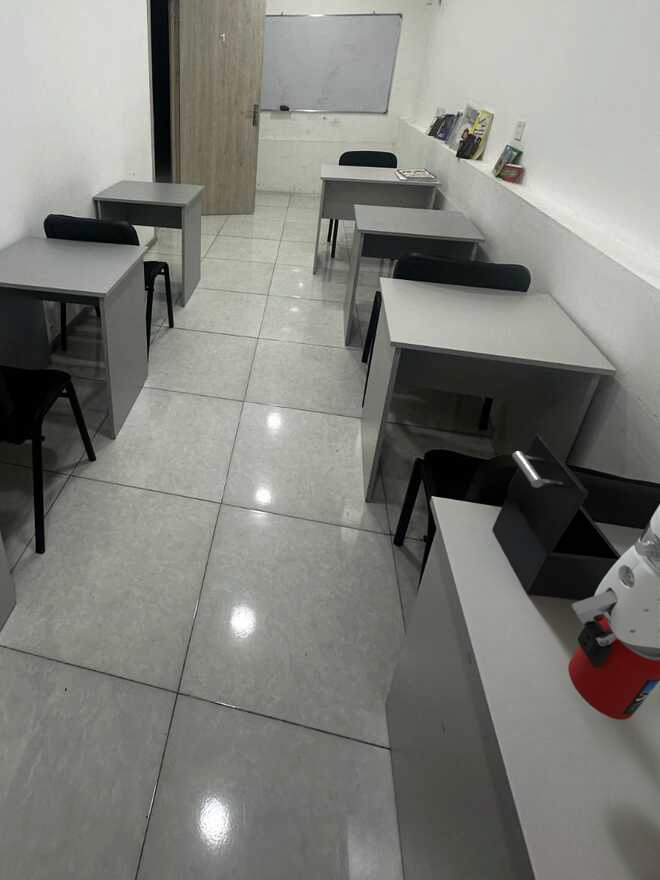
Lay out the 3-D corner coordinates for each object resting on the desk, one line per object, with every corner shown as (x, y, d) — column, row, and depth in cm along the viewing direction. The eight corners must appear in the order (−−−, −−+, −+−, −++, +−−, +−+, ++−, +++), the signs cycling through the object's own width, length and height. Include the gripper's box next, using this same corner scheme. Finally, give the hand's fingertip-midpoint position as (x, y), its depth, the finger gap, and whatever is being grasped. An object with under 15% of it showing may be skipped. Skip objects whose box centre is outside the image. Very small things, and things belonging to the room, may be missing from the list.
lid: (541, 434, 82) (508, 429, 82) (588, 492, 70) (550, 487, 70) (511, 490, 87) (480, 486, 87) (551, 553, 76) (515, 548, 76)
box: (557, 536, 91) (577, 499, 87) (602, 603, 79) (627, 564, 76) (491, 529, 91) (508, 492, 87) (526, 594, 80) (547, 555, 76)
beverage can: (642, 734, 56) (689, 675, 51) (575, 709, 58) (615, 651, 53) (618, 671, 62) (658, 613, 57) (558, 651, 64) (592, 593, 59)
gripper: (629, 583, 47) (564, 686, 54) (815, 601, 46) (724, 703, 53) (580, 517, 53) (528, 616, 61) (741, 532, 53) (669, 630, 60)
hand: (620, 656), depth 57 cm, fingers closed on beverage can, 6 cm apart
